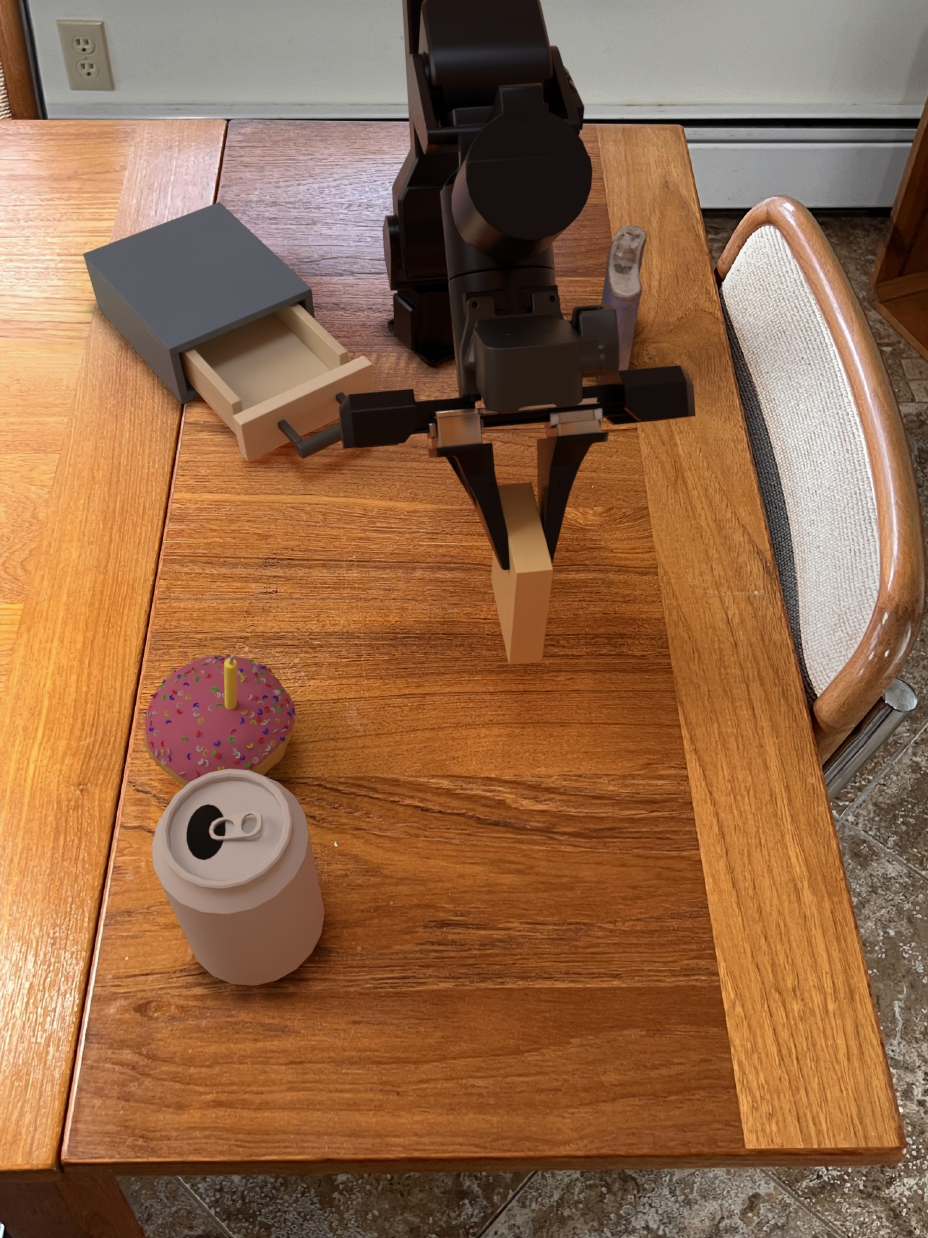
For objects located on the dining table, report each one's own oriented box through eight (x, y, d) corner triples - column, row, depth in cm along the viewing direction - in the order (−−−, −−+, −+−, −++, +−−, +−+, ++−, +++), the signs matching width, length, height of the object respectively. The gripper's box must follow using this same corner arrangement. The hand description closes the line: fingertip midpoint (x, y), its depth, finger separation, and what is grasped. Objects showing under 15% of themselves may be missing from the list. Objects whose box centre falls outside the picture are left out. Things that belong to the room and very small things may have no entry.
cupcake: (323, 724, 72) (305, 605, 62) (265, 842, 67) (235, 733, 57) (198, 685, 73) (162, 564, 64) (132, 798, 68) (82, 684, 59)
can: (193, 866, 66) (150, 759, 56) (325, 857, 66) (305, 749, 57) (185, 997, 61) (137, 905, 52) (326, 986, 62) (305, 892, 52)
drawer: (403, 428, 86) (402, 391, 83) (275, 492, 82) (268, 455, 79) (283, 311, 95) (278, 273, 92) (161, 363, 90) (151, 325, 88)
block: (491, 580, 72) (496, 484, 65) (522, 576, 72) (531, 481, 65) (508, 665, 68) (516, 573, 61) (542, 661, 68) (553, 569, 61)
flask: (626, 391, 91) (645, 276, 82) (589, 387, 91) (603, 271, 82) (633, 318, 96) (651, 202, 88) (598, 314, 96) (612, 199, 88)
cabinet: (318, 343, 94) (312, 288, 89) (181, 404, 89) (168, 349, 85) (229, 256, 100) (219, 201, 96) (98, 308, 96) (82, 253, 91)
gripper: (325, 264, 53) (361, 602, 55) (721, 234, 54) (740, 562, 57) (326, 299, 63) (356, 579, 66) (655, 273, 65) (673, 546, 68)
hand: (526, 567), depth 64 cm, fingers closed on block, 2 cm apart
